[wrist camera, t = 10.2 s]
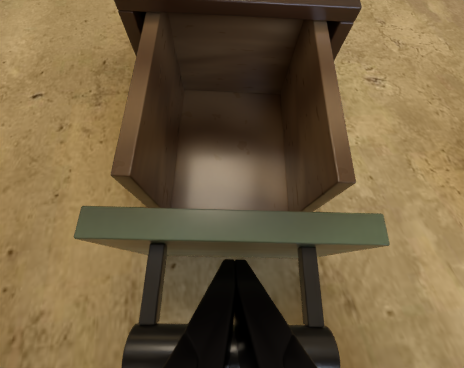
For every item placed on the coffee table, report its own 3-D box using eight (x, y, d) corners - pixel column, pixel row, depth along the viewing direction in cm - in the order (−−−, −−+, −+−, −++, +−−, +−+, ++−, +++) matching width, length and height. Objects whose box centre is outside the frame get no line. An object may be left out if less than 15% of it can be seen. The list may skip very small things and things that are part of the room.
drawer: (314, 329, 15) (423, 397, 7) (137, 327, 15) (32, 395, 7) (292, 96, 22) (335, -10, 14) (170, 91, 22) (138, -20, 13)
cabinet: (298, 128, 22) (362, 7, 12) (162, 123, 21) (110, -6, 11) (287, 14, 27) (324, -133, 17) (179, 9, 27) (153, -145, 17)
